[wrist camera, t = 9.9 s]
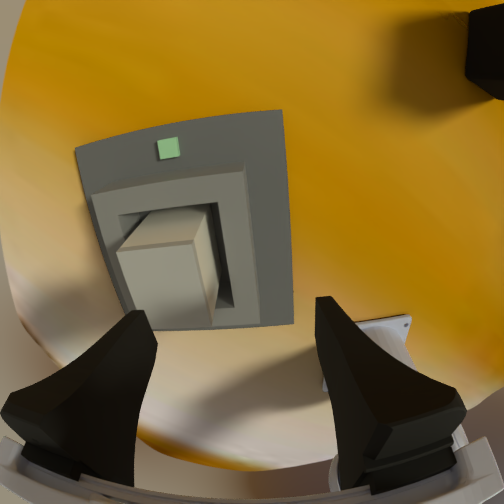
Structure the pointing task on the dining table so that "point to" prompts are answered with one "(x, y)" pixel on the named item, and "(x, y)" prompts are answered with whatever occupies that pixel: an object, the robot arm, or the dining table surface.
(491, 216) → the dining table surface
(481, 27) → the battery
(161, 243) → the plug
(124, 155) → the socket dock
